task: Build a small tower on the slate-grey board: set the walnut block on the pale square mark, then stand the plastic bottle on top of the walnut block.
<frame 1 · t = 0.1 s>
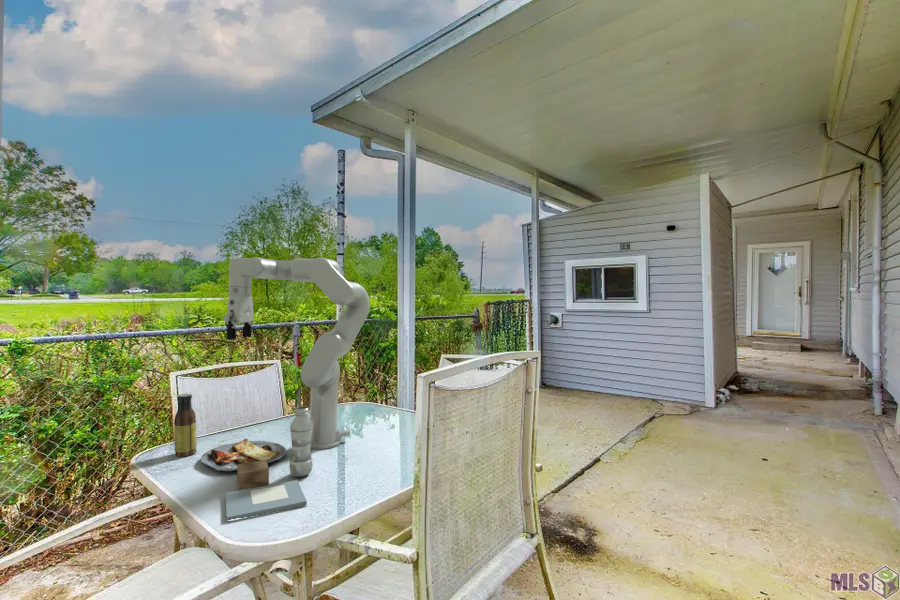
hand: (239, 338, 158), 37 cm above the table, tool pointing down, fingers open, 9 cm apart
board: (265, 501, 110), on the table
sauce bottle: (185, 454, 142), on the table
block: (252, 484, 121), on the table
plastic bottle: (300, 475, 127), on the table
food plate: (244, 460, 139), on the table
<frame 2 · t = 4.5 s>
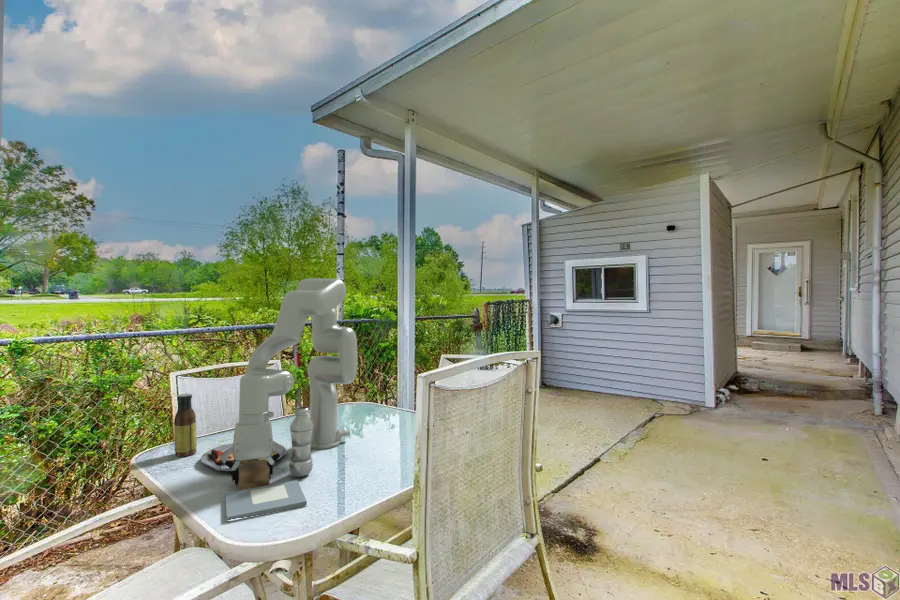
hand: (252, 479, 121), 1 cm above the table, tool pointing down, fingers closed on block, 7 cm apart
block: (252, 483, 121), on the table, touching gripper
everything else where it was.
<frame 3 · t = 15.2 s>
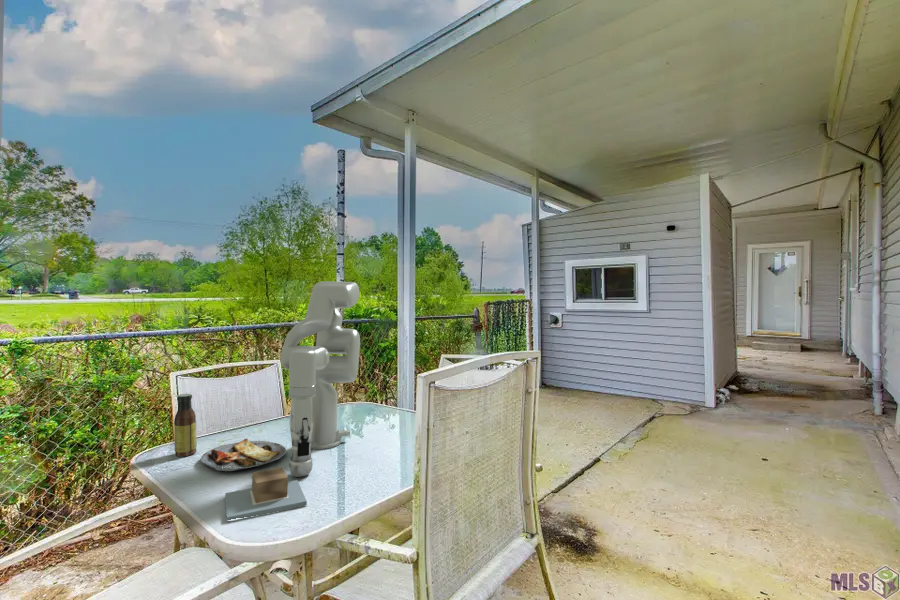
hand: (301, 451, 127), 7 cm above the table, tool pointing down, fingers closed on plastic bottle, 5 cm apart
block: (269, 493, 112), point 1 cm above the table, touching board
plastic bottle: (300, 475, 127), on the table, touching gripper
everything else where it was.
when the fingers open (16 cm above the table, at t = 19.7 s): plastic bottle drops 2 cm, resting on block.
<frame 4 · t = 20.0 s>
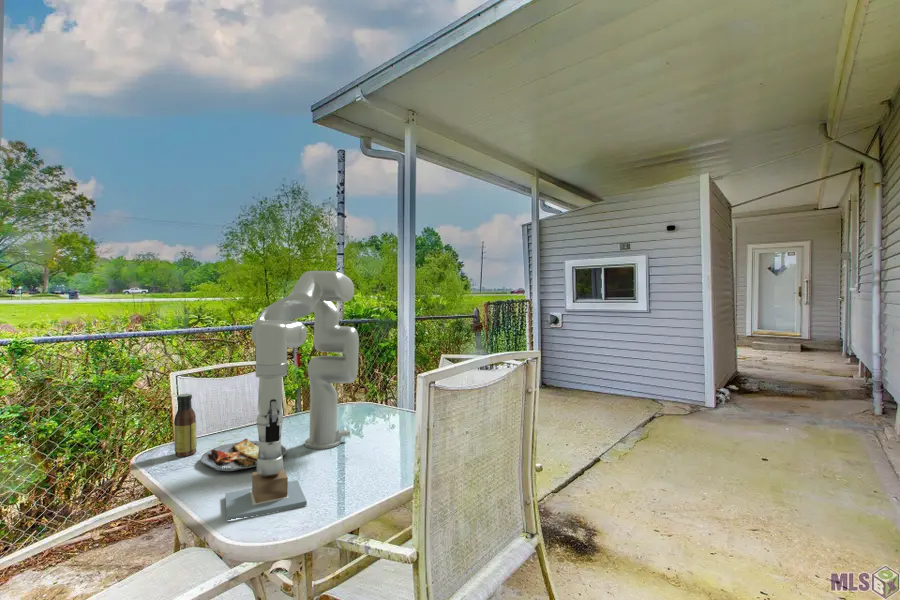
hand: (270, 436, 112), 17 cm above the table, tool pointing down, fingers open, 8 cm apart
block: (269, 493, 112), point 1 cm above the table, touching board, plastic bottle
plastic bottle: (269, 475, 112), point 6 cm above the table, touching block
everything else where it was.
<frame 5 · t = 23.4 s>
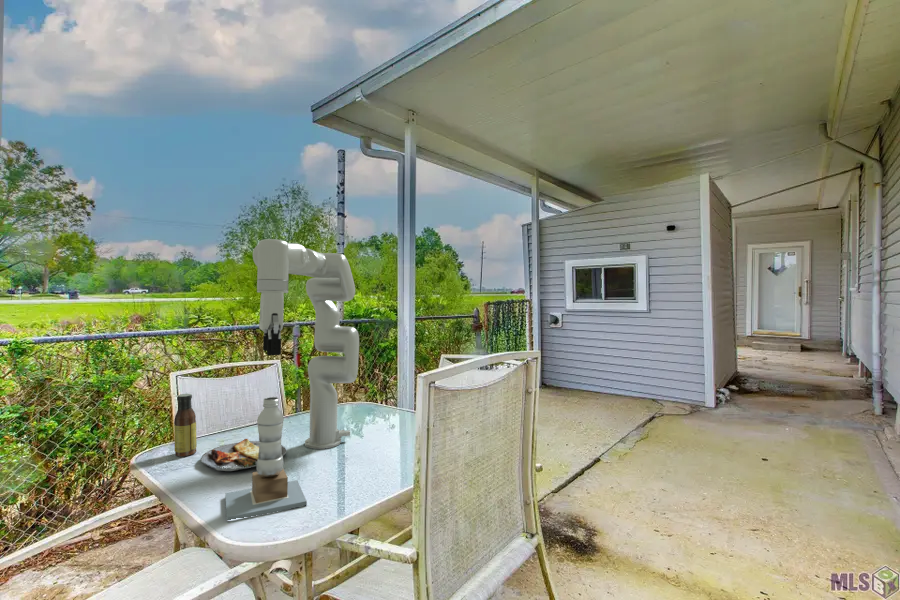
hand: (271, 352, 112), 38 cm above the table, tool pointing down, fingers open, 9 cm apart
nothing on the table moved.
at the end: block 0.1 cm from the target spot on the board, point 1.3 cm above the board's base; plastic bottle 0.2 cm from the block (horizontally); plastic bottle tilted 0° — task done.
